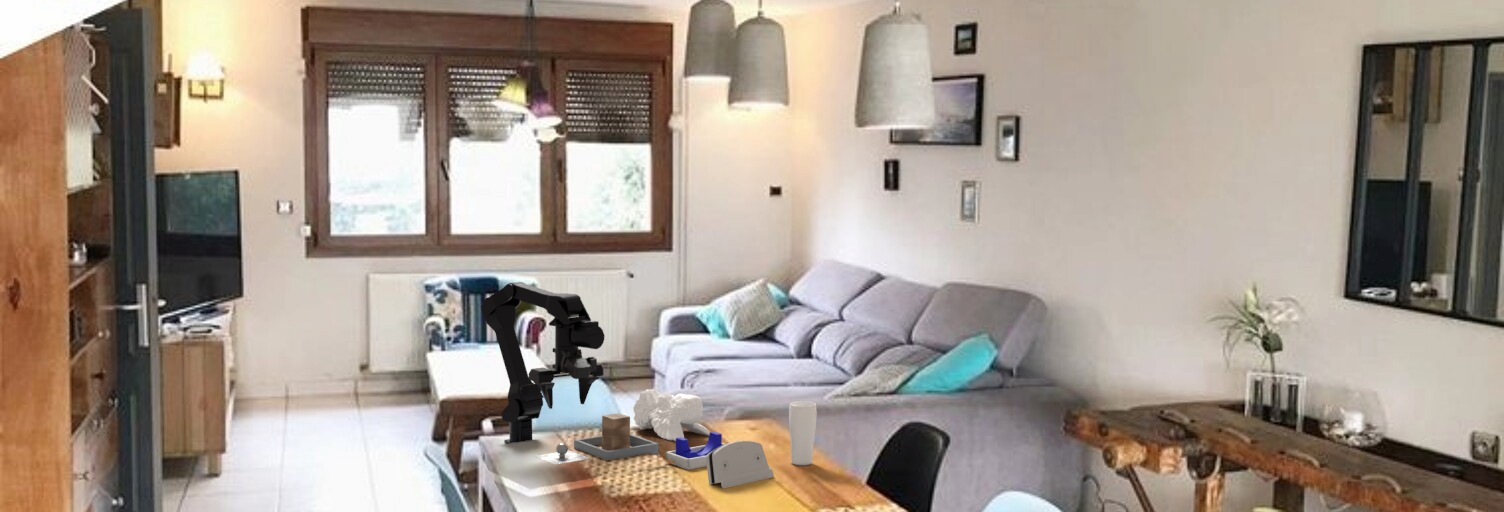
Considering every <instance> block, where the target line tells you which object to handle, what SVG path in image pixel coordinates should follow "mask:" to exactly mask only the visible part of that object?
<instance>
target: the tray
mask: <svg viewBox="0 0 1504 512" xmlns="http://www.w3.org/2000/svg"><path fill="white" fill-rule="evenodd" d="M599 445H600V446H602V435H596V436H591V437H586V438H585V437H584V438H577V439H574V440H573V448H574V449H576V450H577V451H581V452H584V453H586V454H589V455H591V456H594V457H597V458H599V459H602V460H604V461H605V460H606V461H612V460H617V459H622V458H628V457H633V456H634V457H635V456H641V455H644V454H645V455H646V454H652V455H654V456H657V457H659V443H658V442H655V441H653V440H649V439H646V438H644V437H640V436H637V435H634V434H633V433H630V447H629V448H622V449H616V450H610V451H607V450H604V449H602V447H599Z"/></svg>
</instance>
